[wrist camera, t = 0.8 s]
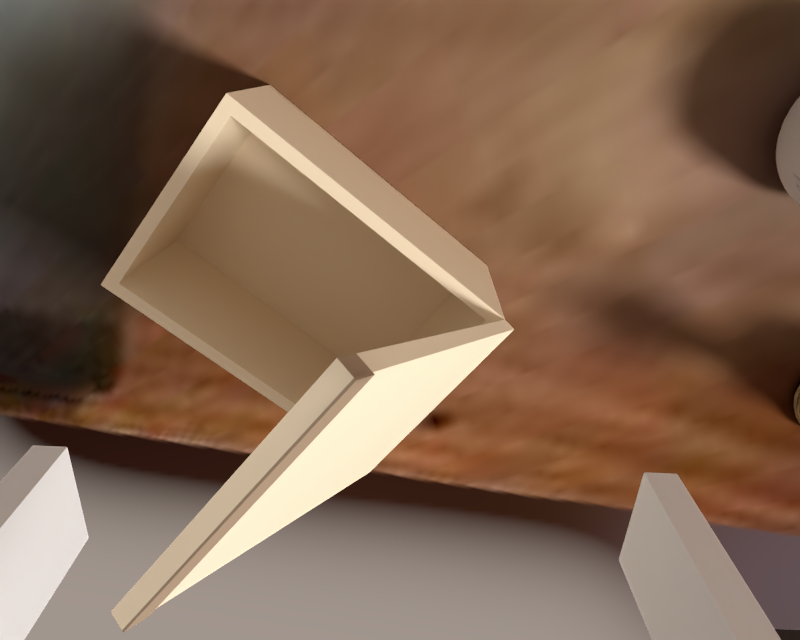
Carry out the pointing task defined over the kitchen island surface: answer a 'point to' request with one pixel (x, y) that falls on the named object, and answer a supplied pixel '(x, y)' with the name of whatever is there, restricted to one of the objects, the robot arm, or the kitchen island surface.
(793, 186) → the teacup
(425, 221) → the carton
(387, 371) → the lid
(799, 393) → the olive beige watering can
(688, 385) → the kitchen island surface
